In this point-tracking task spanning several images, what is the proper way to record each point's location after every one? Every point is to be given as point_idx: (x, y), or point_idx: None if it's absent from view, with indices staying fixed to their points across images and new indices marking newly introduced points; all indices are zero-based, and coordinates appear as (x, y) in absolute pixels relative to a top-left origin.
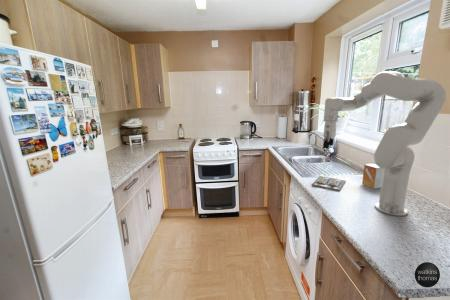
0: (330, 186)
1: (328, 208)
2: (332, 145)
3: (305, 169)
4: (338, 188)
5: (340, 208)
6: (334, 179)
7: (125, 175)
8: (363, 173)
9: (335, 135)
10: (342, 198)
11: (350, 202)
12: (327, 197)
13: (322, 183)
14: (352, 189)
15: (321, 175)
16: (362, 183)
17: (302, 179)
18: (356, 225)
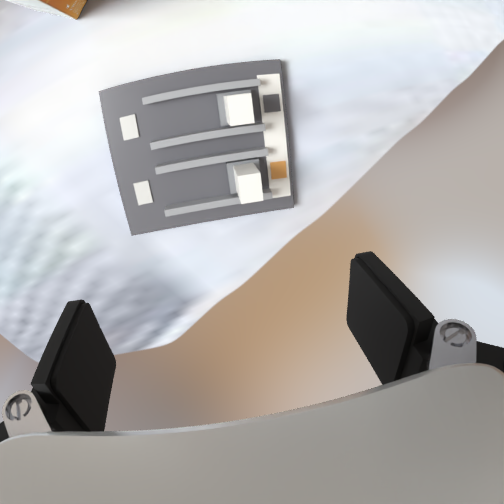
0: (266, 113)
1: (460, 74)
2: (82, 300)
3: None
4: (262, 70)
5: (440, 36)
6: (250, 102)
7: None
8: (50, 4)
9: (9, 453)
10: (355, 34)
11: (373, 3)
12: (384, 92)
13: (258, 163)
14: (198, 19)
15: (247, 192)
16: (76, 17)
17: (229, 280)
18: (490, 3)
